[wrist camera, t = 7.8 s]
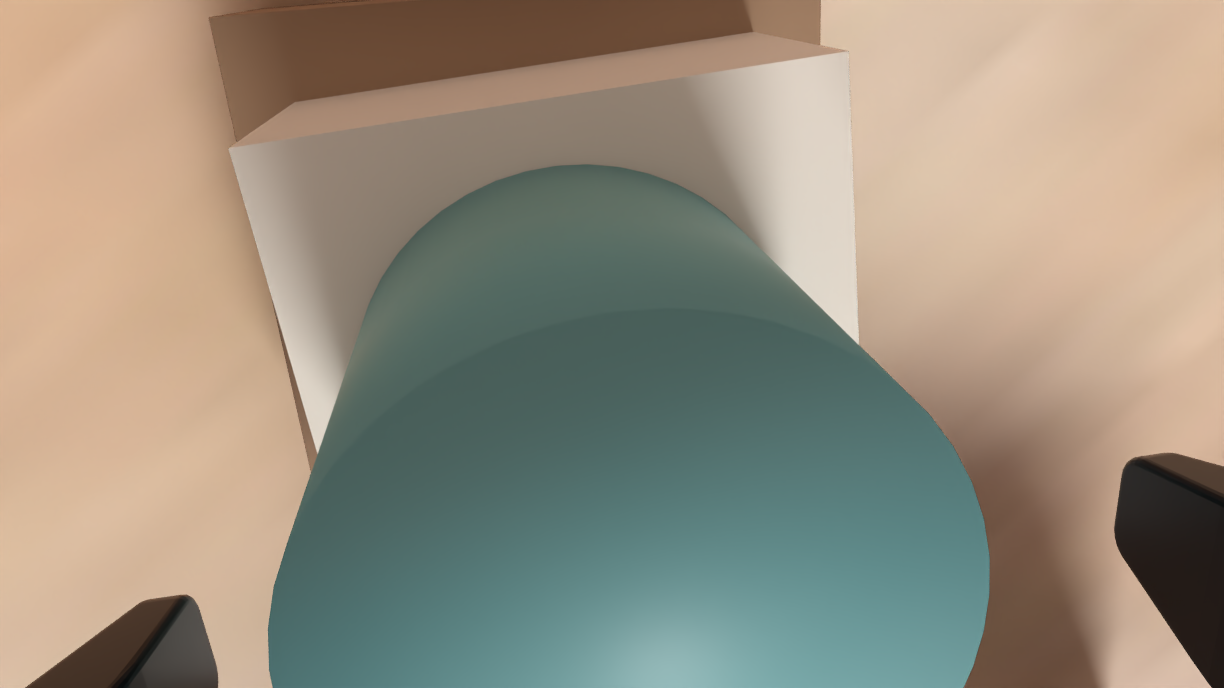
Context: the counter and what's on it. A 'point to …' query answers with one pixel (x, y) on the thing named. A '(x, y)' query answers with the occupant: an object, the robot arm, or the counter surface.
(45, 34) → the counter surface
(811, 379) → the teal rounded dome
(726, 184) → the cream block
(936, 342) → the counter surface
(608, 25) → the walnut base block
